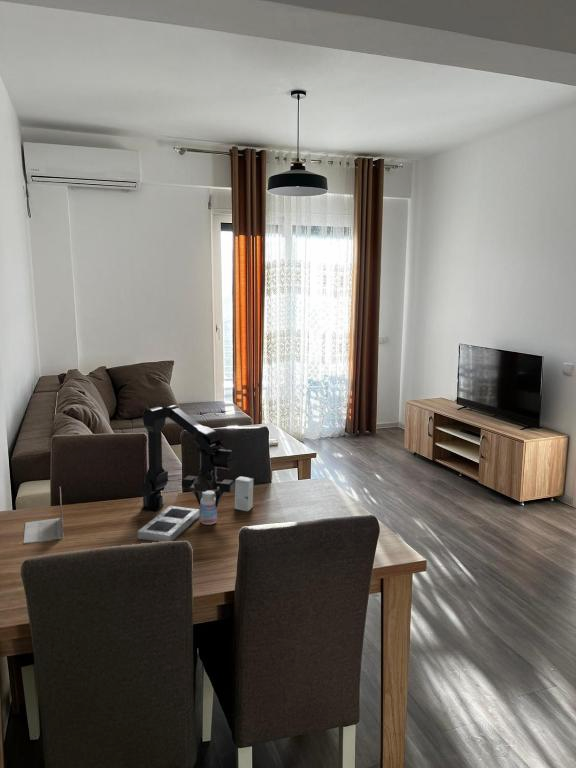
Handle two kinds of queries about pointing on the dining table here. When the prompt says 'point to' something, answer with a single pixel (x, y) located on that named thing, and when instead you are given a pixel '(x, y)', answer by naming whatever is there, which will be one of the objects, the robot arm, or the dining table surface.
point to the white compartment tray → (168, 524)
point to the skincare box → (243, 493)
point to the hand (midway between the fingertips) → (208, 506)
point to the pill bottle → (208, 508)
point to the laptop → (44, 529)
